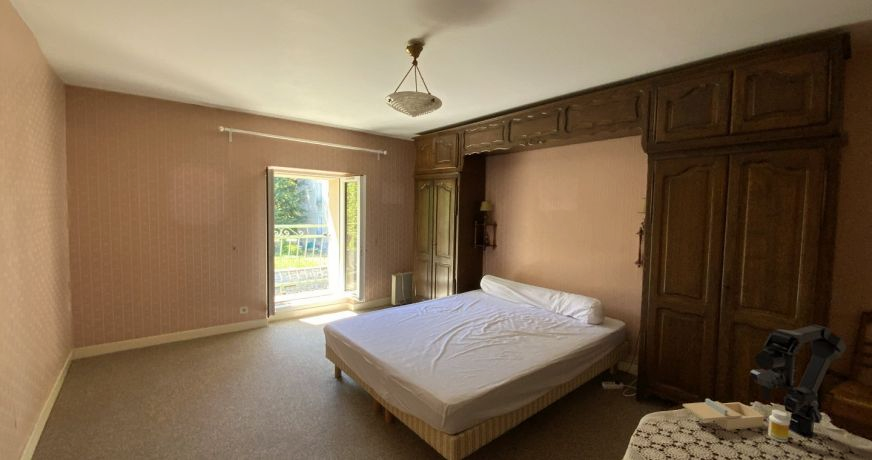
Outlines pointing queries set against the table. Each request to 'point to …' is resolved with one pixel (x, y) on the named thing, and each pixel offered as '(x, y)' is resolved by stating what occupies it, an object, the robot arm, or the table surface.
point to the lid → (711, 410)
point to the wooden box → (746, 421)
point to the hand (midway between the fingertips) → (779, 406)
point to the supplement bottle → (778, 426)
